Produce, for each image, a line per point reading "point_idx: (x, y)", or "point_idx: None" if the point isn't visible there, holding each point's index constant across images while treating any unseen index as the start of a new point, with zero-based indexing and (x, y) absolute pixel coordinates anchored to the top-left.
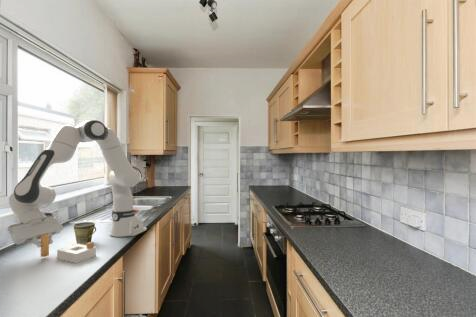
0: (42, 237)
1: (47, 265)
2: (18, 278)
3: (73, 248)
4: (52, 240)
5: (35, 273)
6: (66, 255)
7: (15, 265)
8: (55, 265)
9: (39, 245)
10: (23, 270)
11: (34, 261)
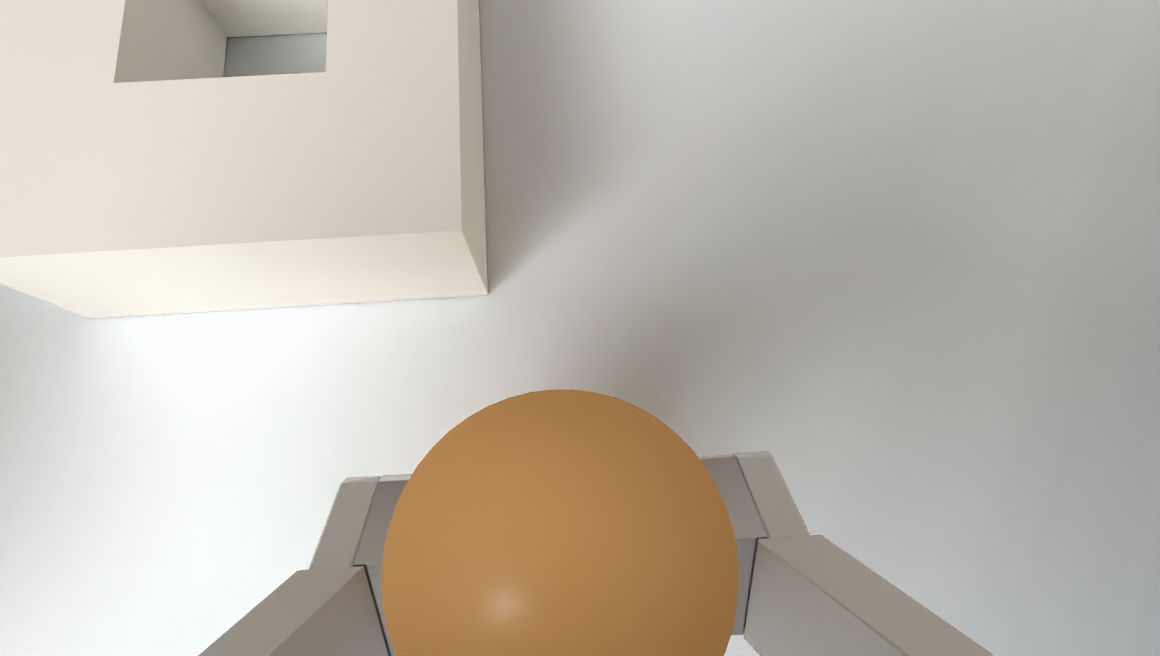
0: (711, 486)
1: (726, 156)
2: (1145, 45)
3: (231, 85)
4: (338, 496)
5: (952, 26)
6: (466, 33)
7: (1033, 598)
8: (664, 67)
9: (768, 458)
10: (1018, 254)
11: None
